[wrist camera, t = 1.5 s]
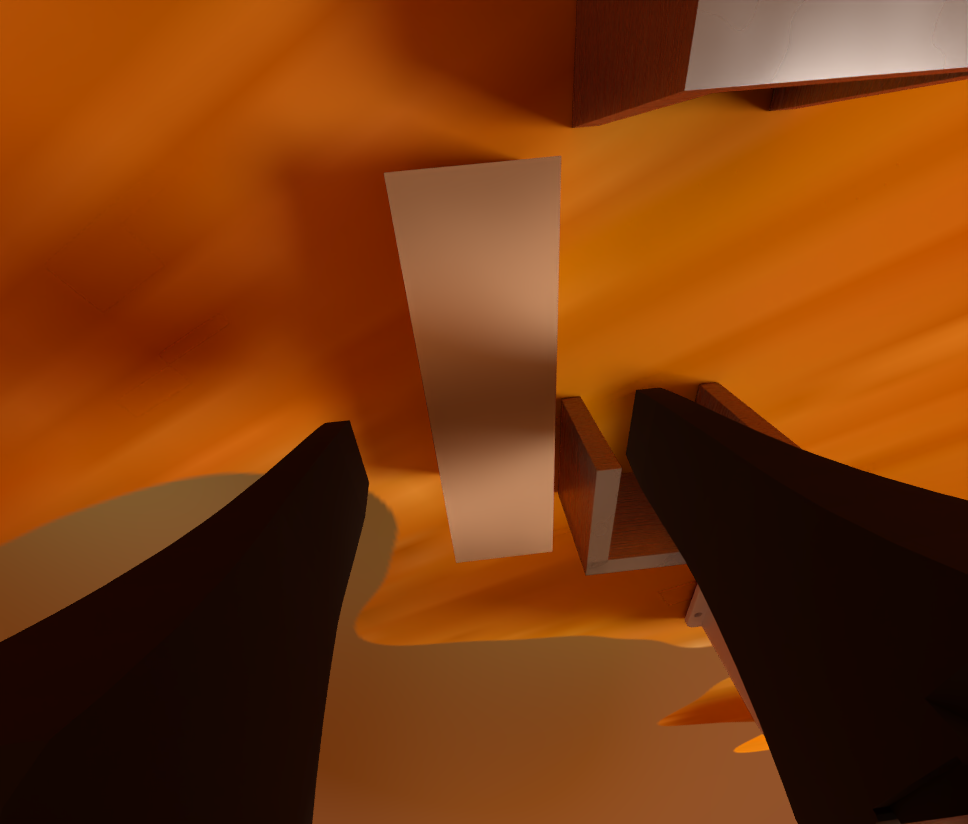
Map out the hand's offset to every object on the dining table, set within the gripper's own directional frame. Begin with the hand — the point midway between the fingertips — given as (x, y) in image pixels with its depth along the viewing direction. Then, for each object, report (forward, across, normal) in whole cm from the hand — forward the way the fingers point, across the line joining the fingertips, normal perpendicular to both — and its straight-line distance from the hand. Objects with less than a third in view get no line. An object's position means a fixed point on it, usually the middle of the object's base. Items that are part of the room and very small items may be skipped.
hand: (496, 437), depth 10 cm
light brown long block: (+6, 0, 0) cm, 6 cm away
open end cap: (+6, -7, +5) cm, 10 cm away
